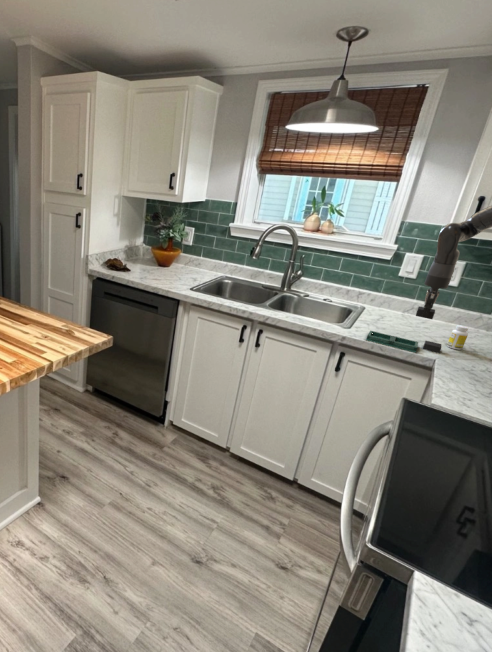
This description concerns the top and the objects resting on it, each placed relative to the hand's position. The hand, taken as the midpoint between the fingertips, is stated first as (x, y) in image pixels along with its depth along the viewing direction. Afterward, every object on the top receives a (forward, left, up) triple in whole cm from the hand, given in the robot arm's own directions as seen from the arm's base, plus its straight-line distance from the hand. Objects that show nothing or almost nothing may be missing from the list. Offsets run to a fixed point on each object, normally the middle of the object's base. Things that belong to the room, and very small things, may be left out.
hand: (424, 315), depth 166 cm
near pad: (0, 0, -1) cm, 1 cm away
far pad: (-6, -7, -16) cm, 18 cm away
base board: (+8, -2, -16) cm, 18 cm away
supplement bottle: (-14, -20, -16) cm, 29 cm away
